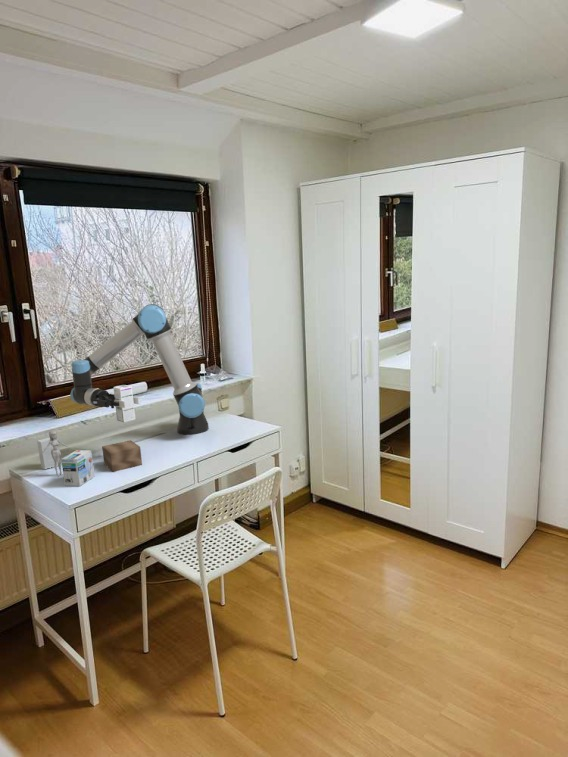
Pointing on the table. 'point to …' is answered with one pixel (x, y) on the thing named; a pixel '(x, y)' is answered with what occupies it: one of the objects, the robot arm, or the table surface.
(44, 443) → the skincare box
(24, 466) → the table surface
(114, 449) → the walnut block
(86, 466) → the light bulb box
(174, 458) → the table surface
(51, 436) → the human figurine
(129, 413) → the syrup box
